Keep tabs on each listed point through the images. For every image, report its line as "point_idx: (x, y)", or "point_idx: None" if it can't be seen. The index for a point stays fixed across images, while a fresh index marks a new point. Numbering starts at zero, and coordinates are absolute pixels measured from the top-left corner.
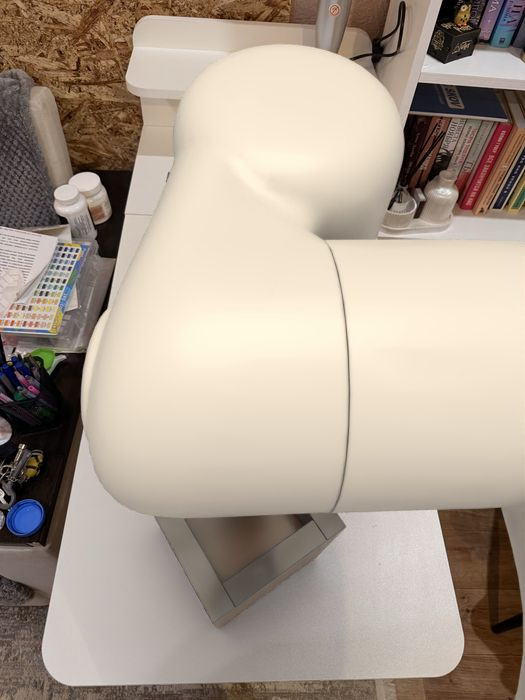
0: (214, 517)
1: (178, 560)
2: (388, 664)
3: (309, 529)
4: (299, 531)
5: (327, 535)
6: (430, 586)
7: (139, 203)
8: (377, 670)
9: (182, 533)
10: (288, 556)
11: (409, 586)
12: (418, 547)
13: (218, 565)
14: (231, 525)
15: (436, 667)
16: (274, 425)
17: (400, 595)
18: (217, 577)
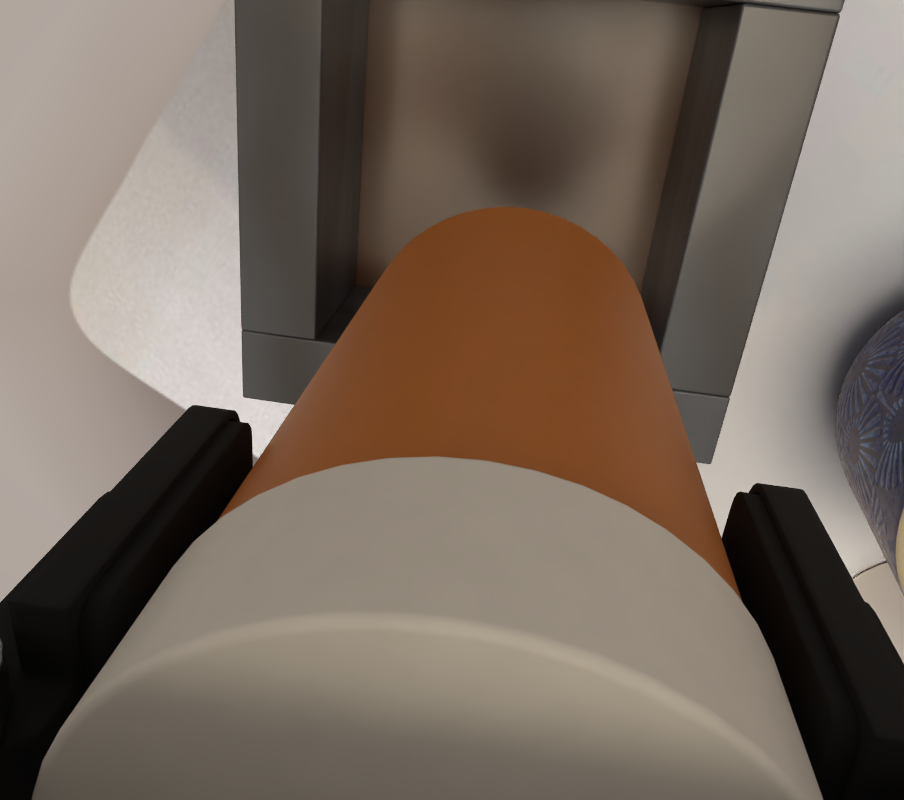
0: (559, 92)
1: None
2: (123, 208)
3: (296, 312)
4: (309, 284)
5: (252, 340)
6: (191, 378)
7: None
8: (126, 182)
9: None
10: (267, 206)
11: (214, 348)
12: (261, 416)
13: (435, 5)
14: (504, 121)
15: (74, 279)
16: None
17: (210, 322)
18: None
